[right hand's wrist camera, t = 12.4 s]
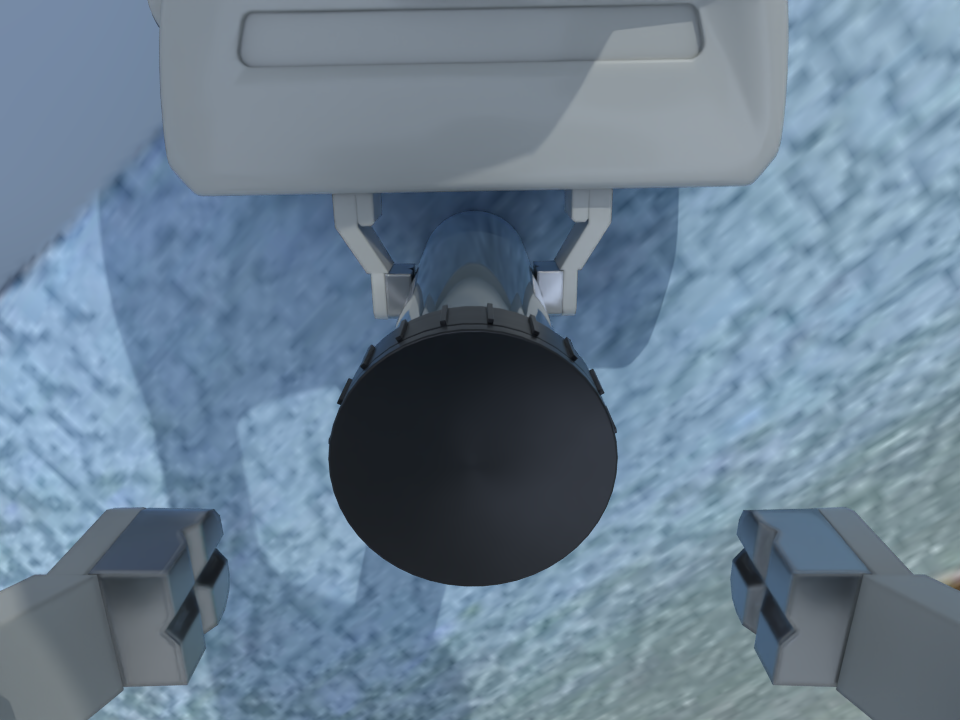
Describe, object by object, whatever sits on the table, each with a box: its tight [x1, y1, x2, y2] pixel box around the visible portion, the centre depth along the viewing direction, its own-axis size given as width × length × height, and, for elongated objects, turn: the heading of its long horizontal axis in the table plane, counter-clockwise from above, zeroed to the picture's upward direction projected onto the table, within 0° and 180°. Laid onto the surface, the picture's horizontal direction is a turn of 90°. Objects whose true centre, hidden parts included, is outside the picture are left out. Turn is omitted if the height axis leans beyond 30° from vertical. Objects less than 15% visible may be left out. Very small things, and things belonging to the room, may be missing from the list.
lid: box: [328, 303, 618, 586], centre depth 14 cm, size 6×6×2 cm
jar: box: [394, 211, 555, 332], centre depth 22 cm, size 5×5×18 cm
